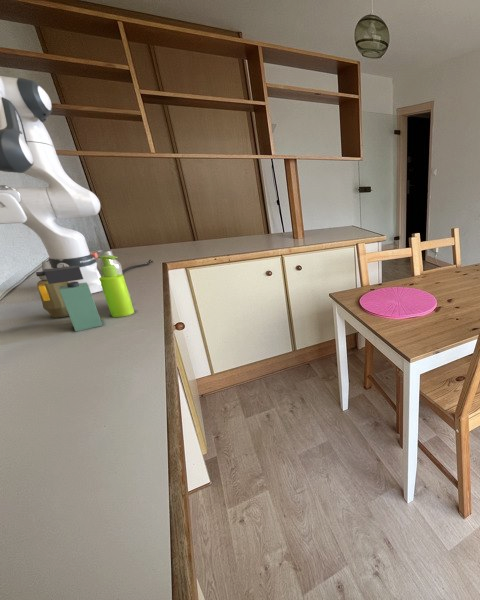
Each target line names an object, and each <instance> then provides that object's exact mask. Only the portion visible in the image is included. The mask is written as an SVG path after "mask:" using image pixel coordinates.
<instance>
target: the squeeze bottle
mask: <svg viewBox="0 0 480 600" xmlns="http://www.w3.org/2000/svg"><path fill="white" fill-rule="evenodd" d="M41 269H42V271H44V269H52V267H51V265H50V263H49V261H47V260H45V261H41ZM42 271H41V272H42ZM38 279H39V280H38V281H37V283H36V284H37V286H38V285H40V284H45V287H46V289H47V292H48V294H49V296H50V300H49V301H44V300H43V298H42V295H41V293H40V291H39V288H38V287H37V289H38V293H39V296H40V300H41V304H42V308H43V309H44V310H45V311H46V312H47V313H48V314H49V315H50V316H51V318H65V317H70V316H69V314H68V311H67V309H66V306H65V303H64V301H63V298H62V296H61V293H60V291H59V286H65V285H67V283H68V281H67V282H60V283H53V284H49V283H48V281H47V278H46V276H38Z"/></svg>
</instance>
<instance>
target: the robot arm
mask: <svg viewBox="0 0 480 600" xmlns="http://www.w3.org/2000/svg"><path fill="white" fill-rule="evenodd" d="M52 112H53V105H52V101H51V98H50V96H49V94H48V93H47V91H46V90H45V89H44V87H42V85H41V84H39V83H38V82H36V81H34V80H31V79H28V78H23V77H18V78H17V77H12V76H3V75H0V172H4V173H17V174H25V175H26V176H29V177H32V178H34V179H38V180H41V181H43V182H45V183H46V184H47V185H48V186H46V187H29V186H28V187H27V186H26V187H23V186H21V187H11V186H8V185H4V184H1V185H0V225H9V224H10V225H11V224H12V225H13V224H22V225H25V226H26V227H27V228H29V229H30V230H32V231H33V232H34V233H35V234H36V235H37V237H38V238H39V239H40V240H41V242H42V244H43V246H44V248H45V250H46V253H47V255H48V263H49V264H50V266H51V267H52V268H60V267H68V266H77V265H79V268H80V271H81V273H82V276H83V279H81V280H74V281H68V283H70V282H78V283H85V282H87V284H88V286H89V289H90V292H91V294H96V293H98V292H103V289H102V286H101V283H100V280H99V278H100V277H101V276H100V274H99V272H98V270H97V263H98V262H97V260H96V259H98V253H97V252H90V250H89V249H90V248H89V246H88V243H87V239H86V237H85V236H84V235H83V233H82V232H80V231H77V230H75V229H72V228H68V227H64V226H61V225H59V224H58V223H56V221H57V220H67V219H70V220H71V219H84V218H88V217H94V216H97V215H98V214H99V212H100V211H101V201H100V199H99V197H98V196H97V195H96V193H94V192H93V191H91V190H89V189H87V188H85V187H83V186H82V185H80V184H78V183H77V182H76V181H74V180H73V179H72V178H71V177H70V176H69V175H68V174H67V172H66V171H65V170H64V168H63V165H62V164H61V161H60V160H59V156H58V154H57V151H56V148H55V145H54V142H53V140H52V138H51V136H50V133H49V132H48V130H47V128H46V126H45V124H44V123H45V122H46V121H47V118H49V117H50V116H51V114H52ZM151 260H152V259H149V260H148V262H150V261H151ZM148 262H146V263H147V264H145V263H141V264H135V265H131V266H128V267H126V268H125V269H122V273H125V272H127V271H129V270H131V269H135V268H140V267H146V266H148V265H150V264H151V263H153V262H154V261H153V260H152V261H151V262H150V263H148Z"/></svg>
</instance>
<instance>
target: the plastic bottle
mask: <svg viewBox="0 0 480 600" xmlns="http://www.w3.org/2000/svg"><path fill="white" fill-rule="evenodd" d="M96 254H97V258H98V257H99V256H104V255H112V256H114V253H113V251H112V250H111V249H101V250H97V252H96ZM109 260H110V259H109ZM96 263H97V270H98V272H99V274H100V276H101V277H102V276H104V275H103V272H102V269H101V267H102V266H103V265H104V264H103V261H102V258H98V261H97V262H96ZM110 263H111V264H112V265H115V267H116V270H117V274H122V275H123V276H124V274H123V273H124V272H123V273H122V271H123V266H122V264H121V262H120V261H119V260H118V259H113V260H110ZM128 293H129V296H130V299H131V302H132V303H133V298H132V295H131V293H130V291H128Z"/></svg>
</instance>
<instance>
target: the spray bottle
mask: <svg viewBox="0 0 480 600" xmlns="http://www.w3.org/2000/svg"><path fill="white" fill-rule="evenodd" d="M35 274H36V277H38V278H39V276H46V278H47V281H48V283H49V284H53V283H60V282H67V281H74V280H81V279H83V276H82V273H81V271H80V268H79V265H77V266H68V267H60V268H52V269H44V271H36V272H35ZM59 291H60V293H61V296H62V298H63V301H64V303H65V306H66V309H67V311H68V314H69V316H68V317H69V319H70V321H71V324H72V327H73V329H74V331H75V332H80V331H83V330H89V329H93V328H97V327H98V328H99V327H102V326H103V323H102V320H101V318H100V314H99V312H98V309H97V307H96V303H95V301H94V297H93V295H92V293H91V292H90V289H89V286H88V284H87V282H85V283H78V282H70V283H67V285H65V286H59Z"/></svg>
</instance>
